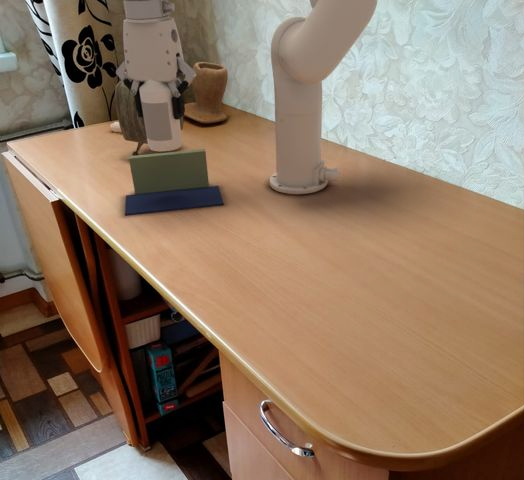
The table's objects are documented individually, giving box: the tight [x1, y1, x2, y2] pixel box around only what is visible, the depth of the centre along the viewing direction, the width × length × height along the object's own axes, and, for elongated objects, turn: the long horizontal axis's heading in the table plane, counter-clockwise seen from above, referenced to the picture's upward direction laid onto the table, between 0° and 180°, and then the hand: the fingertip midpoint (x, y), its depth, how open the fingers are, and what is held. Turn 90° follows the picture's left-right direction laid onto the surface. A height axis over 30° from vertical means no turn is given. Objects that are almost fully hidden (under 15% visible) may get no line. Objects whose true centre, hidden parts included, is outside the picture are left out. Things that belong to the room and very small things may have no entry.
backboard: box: [128, 148, 210, 194], centre depth 123 cm, size 2×16×8 cm, turn 100°
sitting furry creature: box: [109, 121, 122, 134], centre depth 158 cm, size 10×9×12 cm
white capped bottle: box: [139, 79, 183, 152], centre depth 109 cm, size 7×7×18 cm
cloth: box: [124, 185, 224, 216], centre depth 120 cm, size 10×20×1 cm, turn 100°
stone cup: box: [184, 61, 229, 124], centre depth 162 cm, size 15×12×15 cm
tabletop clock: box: [114, 79, 184, 156], centre depth 137 cm, size 14×9×25 cm, turn 149°
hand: (161, 115), depth 111 cm, fingers closed on white capped bottle, 6 cm apart
